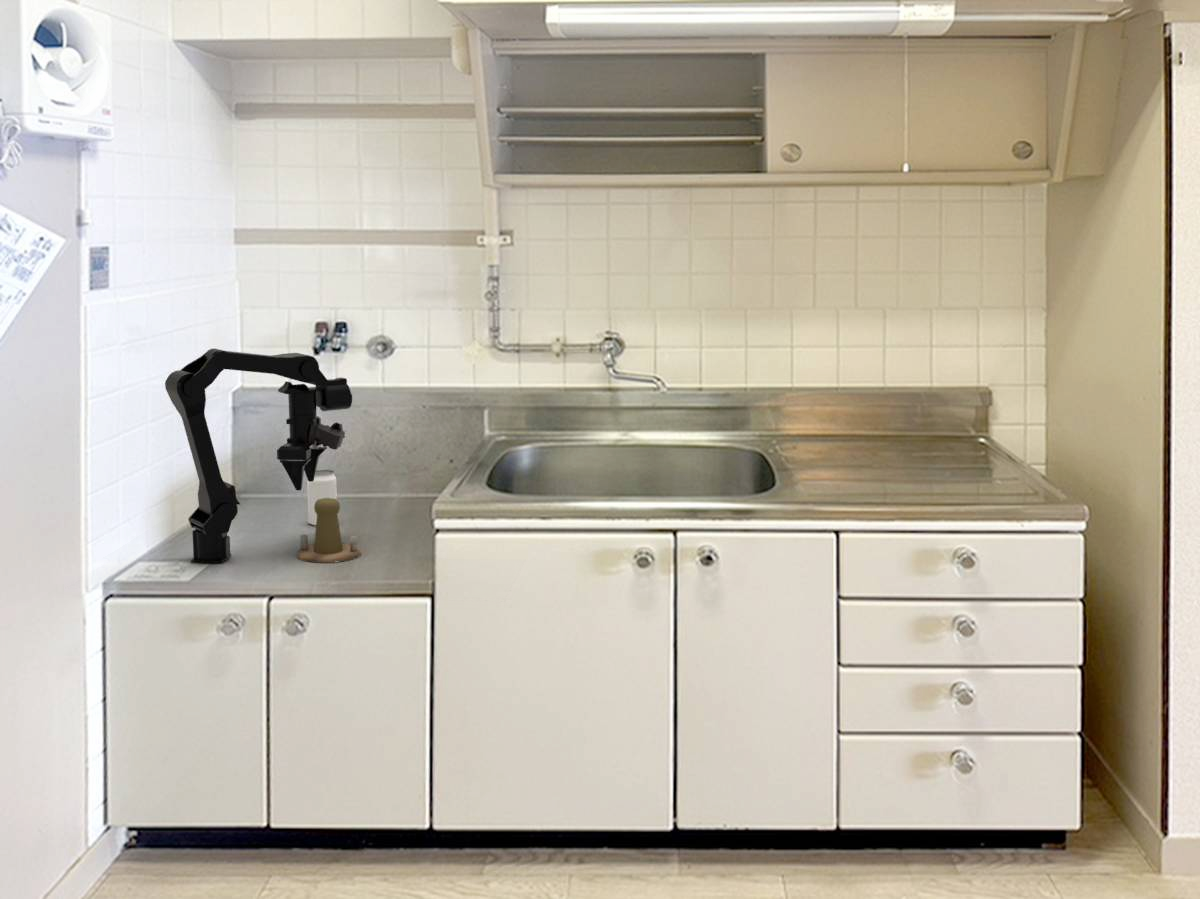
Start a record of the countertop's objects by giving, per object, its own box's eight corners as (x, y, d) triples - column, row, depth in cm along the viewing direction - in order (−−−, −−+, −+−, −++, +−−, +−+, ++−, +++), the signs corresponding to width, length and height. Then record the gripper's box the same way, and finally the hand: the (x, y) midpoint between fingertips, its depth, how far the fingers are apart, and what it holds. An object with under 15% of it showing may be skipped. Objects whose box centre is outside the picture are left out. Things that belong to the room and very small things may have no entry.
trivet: (289, 561, 293) (289, 542, 292) (307, 546, 305) (307, 528, 305) (352, 563, 292) (351, 544, 291) (367, 548, 304) (367, 529, 304)
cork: (329, 545, 302) (328, 494, 300) (348, 550, 299) (347, 498, 297) (307, 550, 298) (305, 499, 296) (326, 555, 294) (325, 503, 292)
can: (343, 522, 327) (342, 471, 325) (323, 528, 322) (322, 475, 320) (322, 518, 331) (320, 468, 328) (302, 524, 325) (300, 472, 323)
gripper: (328, 421, 291) (330, 496, 294) (351, 407, 310) (353, 477, 313) (274, 420, 292) (277, 494, 295) (301, 406, 311) (303, 476, 313)
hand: (304, 485), depth 304 cm, fingers open, 9 cm apart
